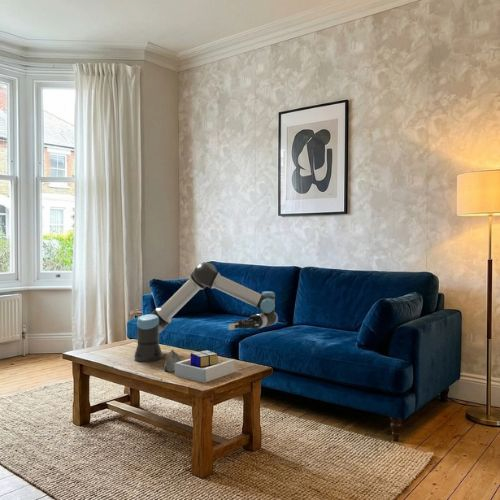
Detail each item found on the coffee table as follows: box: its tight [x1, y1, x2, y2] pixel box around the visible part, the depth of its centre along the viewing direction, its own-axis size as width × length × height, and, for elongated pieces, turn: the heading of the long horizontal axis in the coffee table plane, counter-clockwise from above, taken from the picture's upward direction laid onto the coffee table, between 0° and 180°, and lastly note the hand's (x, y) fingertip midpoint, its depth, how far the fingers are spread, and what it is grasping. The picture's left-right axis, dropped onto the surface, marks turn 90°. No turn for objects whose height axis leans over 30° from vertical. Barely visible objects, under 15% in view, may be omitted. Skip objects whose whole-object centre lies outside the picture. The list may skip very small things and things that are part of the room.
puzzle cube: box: [190, 349, 219, 369], centre depth 240 cm, size 10×10×10 cm
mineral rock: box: [163, 349, 181, 373], centre depth 249 cm, size 13×11×10 cm
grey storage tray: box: [174, 358, 236, 383], centre depth 239 cm, size 22×20×6 cm
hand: (229, 327), depth 252 cm, fingers closed
